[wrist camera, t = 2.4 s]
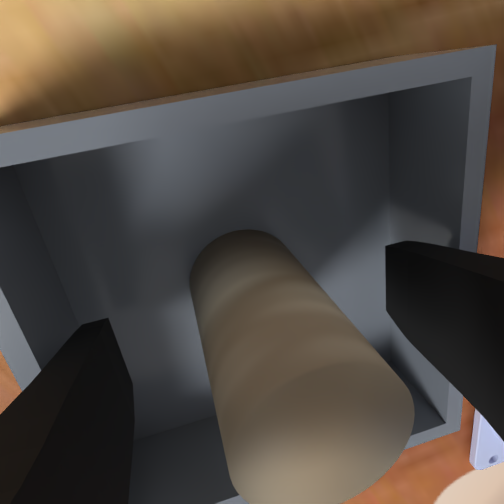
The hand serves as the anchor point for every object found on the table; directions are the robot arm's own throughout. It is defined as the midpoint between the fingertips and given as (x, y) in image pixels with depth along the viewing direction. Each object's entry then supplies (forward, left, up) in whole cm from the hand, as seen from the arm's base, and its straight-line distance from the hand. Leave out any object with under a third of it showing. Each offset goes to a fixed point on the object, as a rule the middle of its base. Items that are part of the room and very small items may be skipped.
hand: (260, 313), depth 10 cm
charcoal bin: (0, 0, -2) cm, 2 cm away
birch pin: (0, 0, -2) cm, 2 cm away
